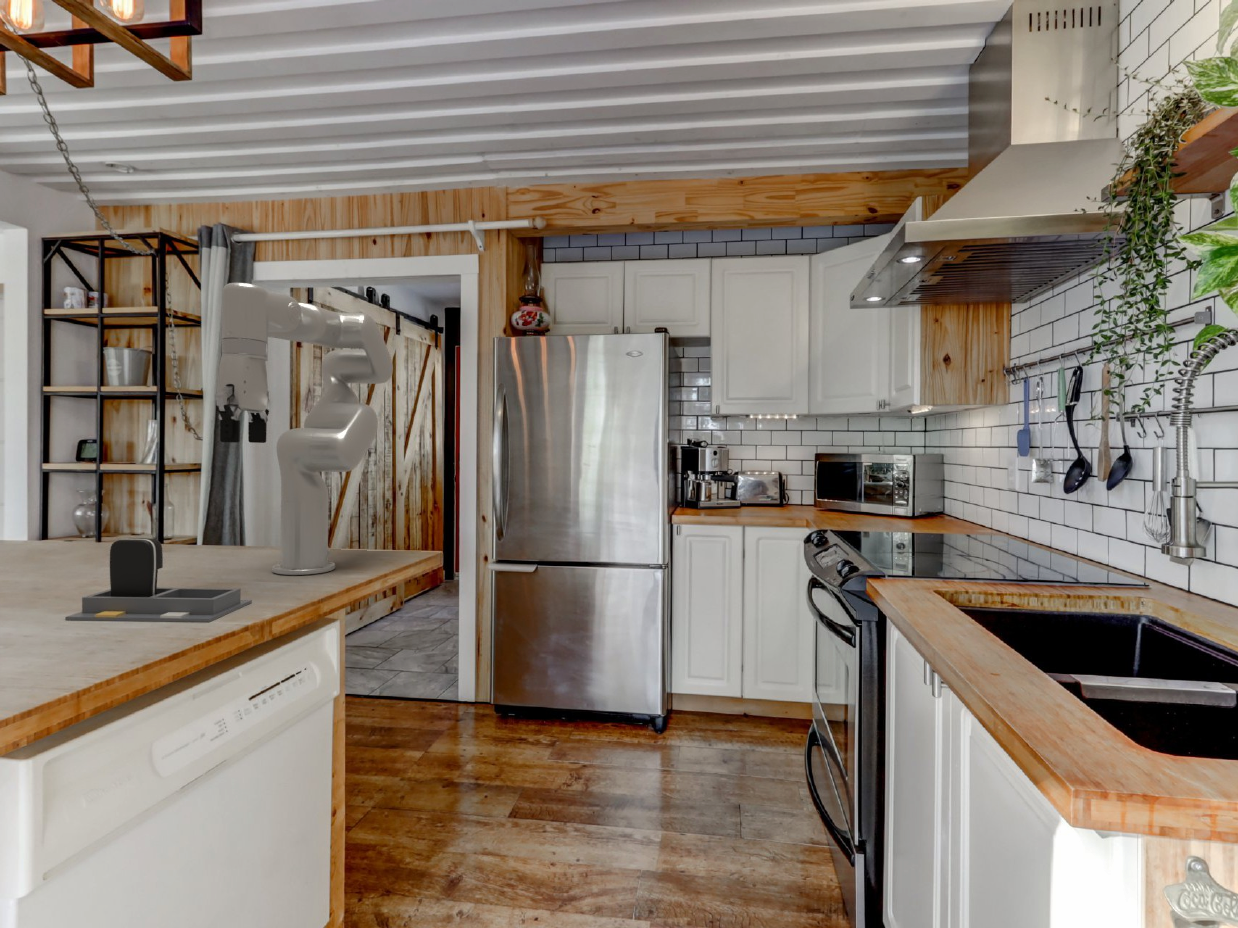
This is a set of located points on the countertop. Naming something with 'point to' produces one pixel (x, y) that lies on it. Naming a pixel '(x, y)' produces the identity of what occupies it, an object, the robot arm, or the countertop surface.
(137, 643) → the countertop surface
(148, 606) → the dock
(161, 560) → the battery charger
